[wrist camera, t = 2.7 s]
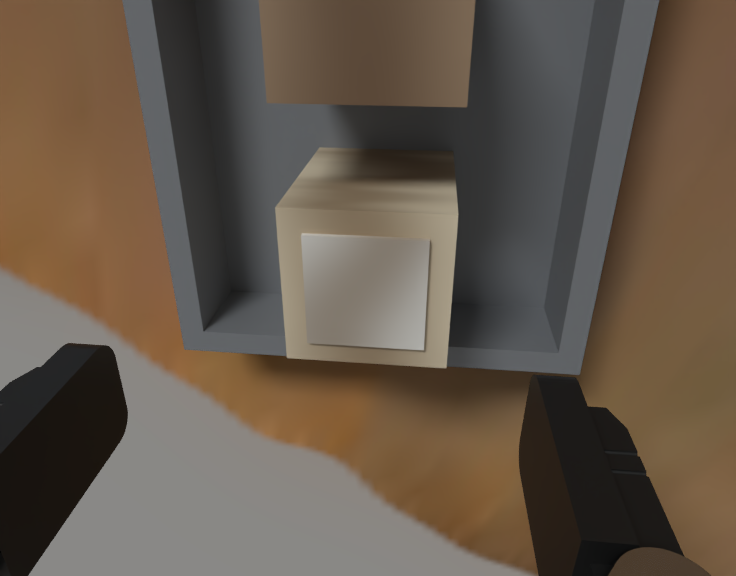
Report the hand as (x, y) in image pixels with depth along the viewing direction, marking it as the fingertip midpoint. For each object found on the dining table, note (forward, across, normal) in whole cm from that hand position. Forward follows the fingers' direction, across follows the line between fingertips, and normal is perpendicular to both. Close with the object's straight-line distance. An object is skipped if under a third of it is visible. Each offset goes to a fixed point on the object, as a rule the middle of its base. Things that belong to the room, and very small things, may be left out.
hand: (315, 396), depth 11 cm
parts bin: (+11, -1, -4) cm, 12 cm away
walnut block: (+10, 0, -7) cm, 13 cm away
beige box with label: (+10, -1, 0) cm, 11 cm away
